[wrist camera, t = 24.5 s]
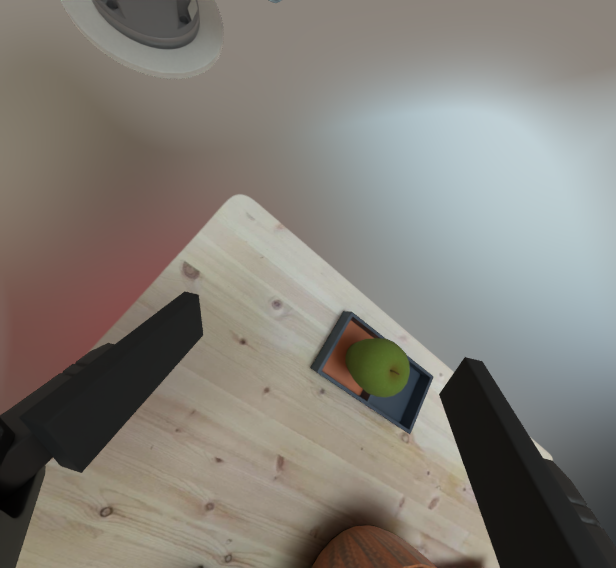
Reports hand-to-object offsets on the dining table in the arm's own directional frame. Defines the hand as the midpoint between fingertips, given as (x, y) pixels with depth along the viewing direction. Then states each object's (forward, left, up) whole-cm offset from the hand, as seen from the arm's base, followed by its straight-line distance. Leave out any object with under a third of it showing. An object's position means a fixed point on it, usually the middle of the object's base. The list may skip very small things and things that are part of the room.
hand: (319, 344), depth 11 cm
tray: (+16, +20, -27) cm, 37 cm away
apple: (+12, +16, -26) cm, 33 cm away
